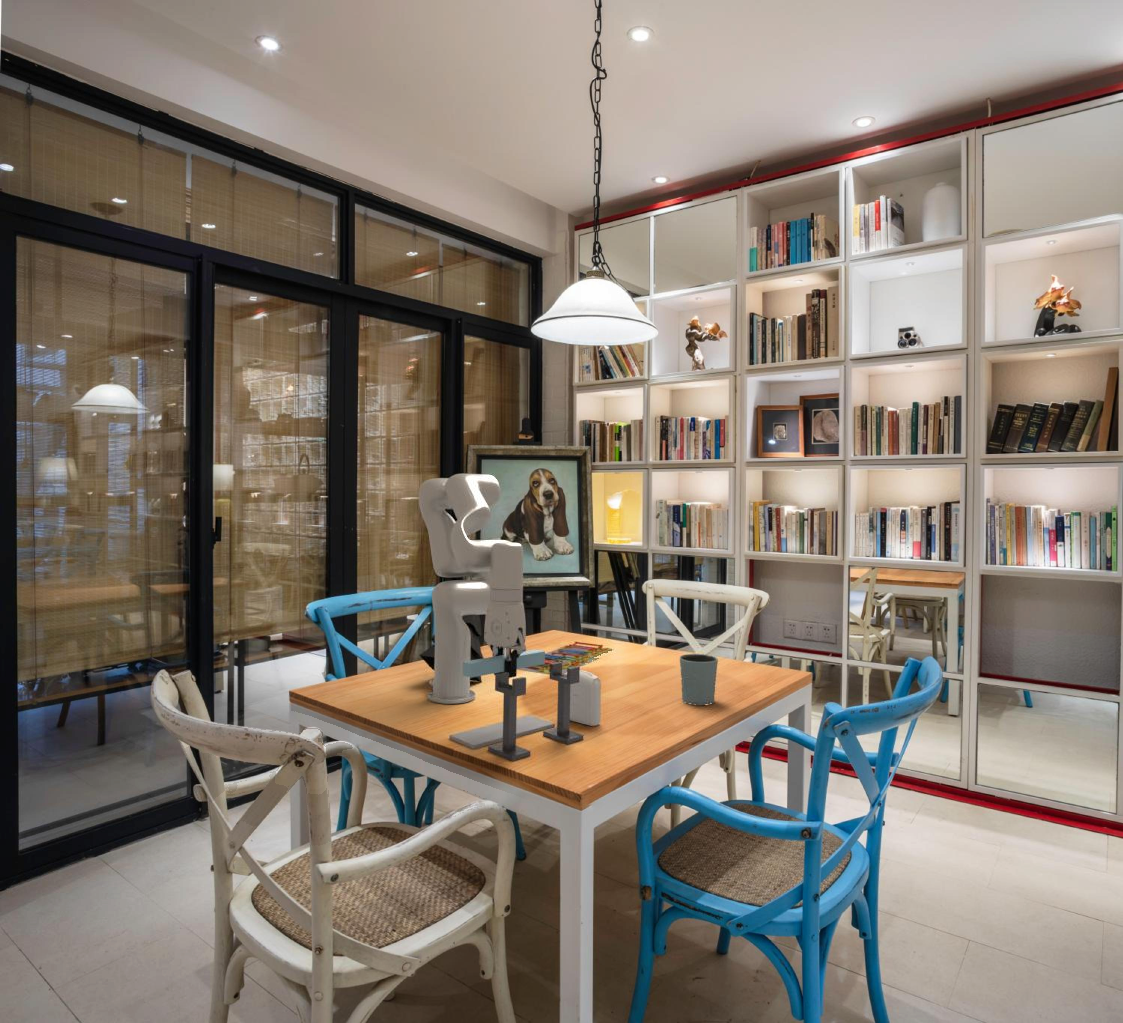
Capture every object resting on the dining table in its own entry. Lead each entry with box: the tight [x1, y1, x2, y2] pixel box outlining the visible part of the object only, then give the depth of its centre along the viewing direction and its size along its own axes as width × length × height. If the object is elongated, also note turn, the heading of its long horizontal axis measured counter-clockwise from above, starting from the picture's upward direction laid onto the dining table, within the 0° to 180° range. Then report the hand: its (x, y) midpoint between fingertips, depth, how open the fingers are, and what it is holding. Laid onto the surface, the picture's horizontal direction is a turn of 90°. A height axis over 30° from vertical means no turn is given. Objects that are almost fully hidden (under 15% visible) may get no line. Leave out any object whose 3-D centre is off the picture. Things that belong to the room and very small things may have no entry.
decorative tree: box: [418, 615, 484, 683], centre depth 221 cm, size 15×15×35 cm
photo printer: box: [564, 669, 602, 727], centre depth 181 cm, size 10×4×12 cm, turn 47°
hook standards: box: [487, 662, 584, 762], centre depth 163 cm, size 8×21×16 cm, turn 134°
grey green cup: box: [679, 653, 719, 706], centre depth 201 cm, size 10×10×12 cm
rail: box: [463, 649, 546, 678], centre depth 171 cm, size 3×22×3 cm, turn 134°
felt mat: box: [449, 714, 556, 750], centre depth 171 cm, size 9×24×1 cm, turn 134°
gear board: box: [517, 641, 613, 676], centre depth 251 cm, size 45×2×19 cm
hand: (505, 675), depth 171 cm, fingers closed on rail, 3 cm apart
